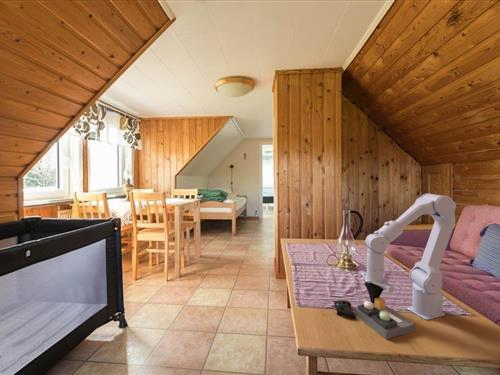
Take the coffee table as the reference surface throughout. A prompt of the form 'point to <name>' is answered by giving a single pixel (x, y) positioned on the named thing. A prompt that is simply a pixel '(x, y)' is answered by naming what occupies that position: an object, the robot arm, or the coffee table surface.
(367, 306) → the white button
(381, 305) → the slider knob
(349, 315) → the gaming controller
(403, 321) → the control panel
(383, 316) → the green button
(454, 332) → the coffee table surface
